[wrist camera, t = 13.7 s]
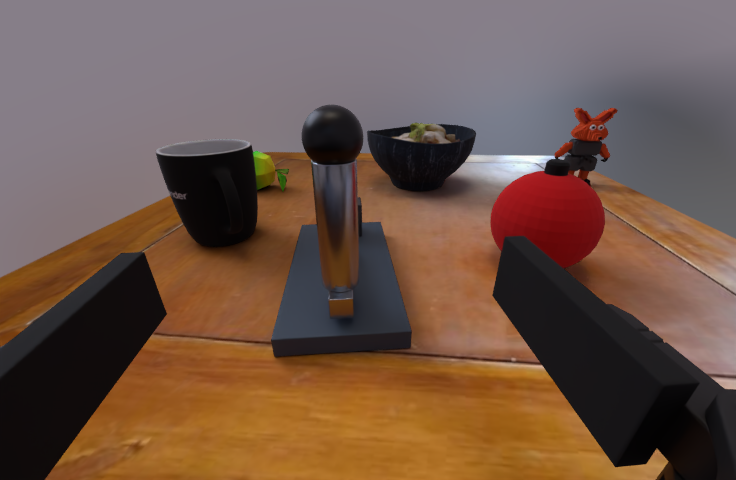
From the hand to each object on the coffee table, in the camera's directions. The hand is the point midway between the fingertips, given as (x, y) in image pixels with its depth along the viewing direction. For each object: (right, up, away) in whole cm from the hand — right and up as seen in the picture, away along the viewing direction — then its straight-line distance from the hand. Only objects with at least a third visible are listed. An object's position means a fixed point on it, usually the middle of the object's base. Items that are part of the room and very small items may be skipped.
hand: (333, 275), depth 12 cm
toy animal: (+36, +10, +41) cm, 56 cm away
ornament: (+17, -1, +19) cm, 26 cm away
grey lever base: (-1, -2, +17) cm, 17 cm away
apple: (-16, +10, +42) cm, 46 cm away
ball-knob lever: (-1, -2, +13) cm, 14 cm away
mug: (-14, +1, +24) cm, 28 cm away
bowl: (+10, +11, +43) cm, 46 cm away
